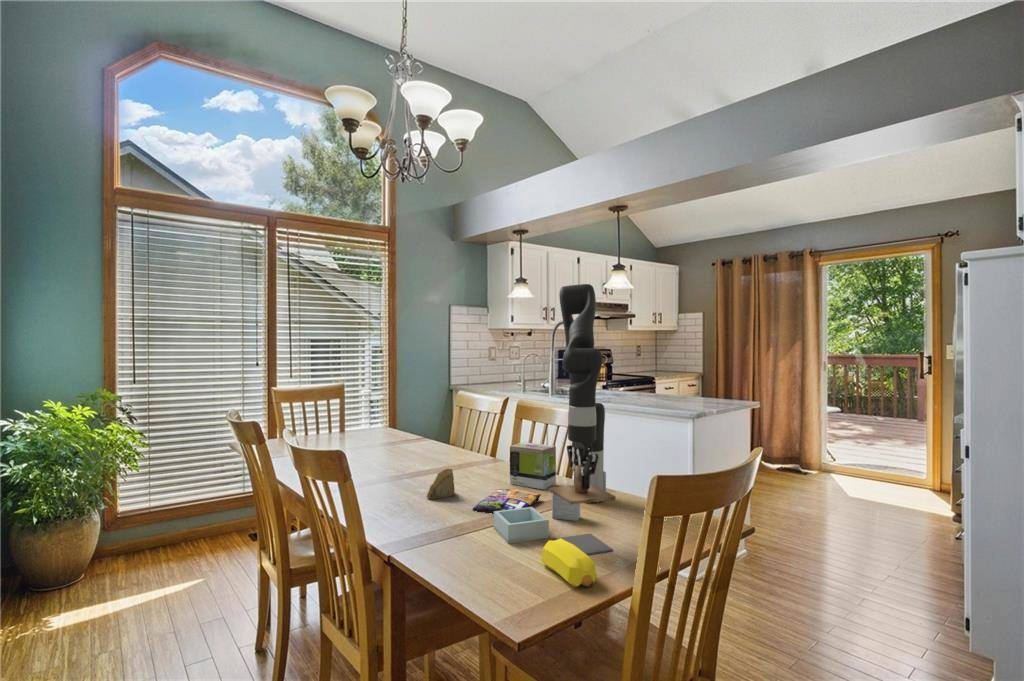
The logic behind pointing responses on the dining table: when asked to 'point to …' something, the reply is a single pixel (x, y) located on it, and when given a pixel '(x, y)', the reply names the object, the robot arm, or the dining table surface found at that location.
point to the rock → (442, 485)
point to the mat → (587, 543)
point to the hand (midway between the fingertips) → (581, 486)
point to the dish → (521, 525)
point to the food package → (506, 500)
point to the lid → (581, 491)
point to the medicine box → (564, 509)
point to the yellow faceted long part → (569, 562)
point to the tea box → (533, 465)
